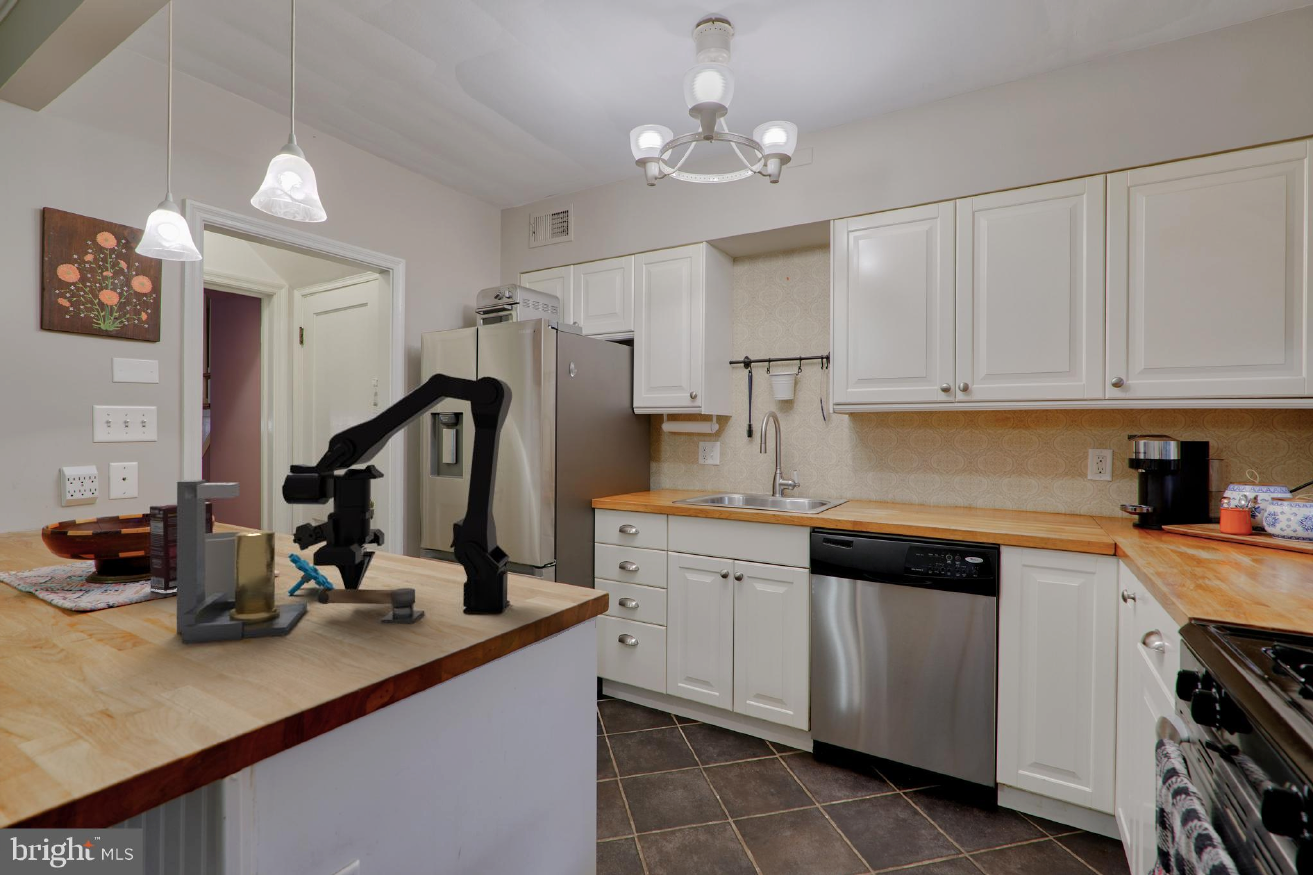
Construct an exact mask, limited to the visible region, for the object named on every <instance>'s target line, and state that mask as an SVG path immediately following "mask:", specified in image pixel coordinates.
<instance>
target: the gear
mask: <svg viewBox="0 0 1313 875" xmlns="http://www.w3.org/2000/svg"><path fill="white" fill-rule="evenodd" d="M287 557H288V559H289V562H291V563H292V564H294V567H295V568H296V569H297V570H298V571H300V572H302V573H303V575H301V576H300V580H298V582H296V583H295V585H293V587H291V588H290V589H289V590H288V591H287V593H288V594H289V595H290V596H294V594H295V593H296V592H298V591H299V590H300V589H301V588H302V587H303V586H304V585H305V584H309V583H310V582H311V581H312V580H313V581H314V584H315V585H317V586H318V587H319V588H321V587H322V589H323V588H331V589H336V588H335V587H334V584H333V583H332V582H331V581H329V580H328V577H326V576H325V575H324V574H322V573H321V572H320V571H319V569H318V568H317V566H314V565H312V566H311V565H310V563H309V561H307V560H306V559H305V558H304V559H302V557H301V556H299V555H298V554H296V553H294V552H293V553H292V552H291V553H290V554H289V555H288V556H287Z"/></svg>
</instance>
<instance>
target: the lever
mask: <svg viewBox="0 0 1313 875" xmlns="http://www.w3.org/2000/svg"><path fill="white" fill-rule="evenodd" d="M316 598H317V601H318V603H320V604H322V605H329V604H357V605H358V604H359V605H360V604H363V605H365V604H366V605H369V604H370V605H371V604H372V605H374V604H375V605H391V606H398V607H401V606H409V605H412V604H414V605H415V603H416V589H414V588H412V587H411V588H410V587H404V588H403V587H402V588H396V589H360V588H359V589H345V588H344V589H343V588H335V589H331V588H323V587H322V588H321V589H320V590H319V591H318V592H317V595H316Z"/></svg>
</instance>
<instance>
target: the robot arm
mask: <svg viewBox="0 0 1313 875" xmlns="http://www.w3.org/2000/svg"><path fill="white" fill-rule="evenodd" d="M448 398H449V399H455V400H460V401H461V400H462V401H466V402H469V403H470V412H471V418H472V421H473V426H474V437H473V448H472V457H471V466H470V467H471V468H470V474H469V475H470V477H469V485H468V486H469V487H468V497H467V507H466V512H465V515H464V518H462V519H459V520H457V521H454V523H453V524H452V535H453V536H452V542H451V544H450V546H449V548H450V549H452V548H453V556H454V559H455V560H456V561H457V562H458V563H459V564H460V565H461V566H462V567H463V570H464V573H465V575H466V576H465V577H466V581H465V582H464V583H463V589H462V592H463V595H462V596H463V599H462V600H463V603H462V604H463V606H462V607H463V608H464V609H463V610H462V613H464V614H488V615H489V614H491V615H493V614H496V615H499V614H502V613H503V612H504V611H505V610H506V609H507V607H508V606H509V605H510V604H511V600H509V599H508V576H509V574H508V572H509V571H508V570H504V569H505V568H507V565H508V563H509V561H510V555H509V554H508V553H507V552H506V551H504V550H503V548H501V547H500V545H499V544H498V538H497V525H496V522H495V518H494V513H493V512H494V511H493V508H494V499H495V497H494V496H495V488H496V480H497V478H496V477H497V470H498V461H499V460H498V459H499V451H500V439H501V432H502V429H503V427H504V424H505V422H506V419H507V417H508V415H509V411H510V407H511V403H512V399H513V391H512V389H511V387H510V386H509V385H508V383H507V382H506V381H503V380H501V379H499V378H496V377H492V376H482V377H480V378H478V379H477V380H474V379H469V378H462V377H458V376H457V377H456V376H451V375H448V374H443V373H440V372H438V373H434V374H431V376H429V378H427V380H426V381H425V382H424V383H421V384H420V385H418V387H416V388H414V389H413V390H411V391H410V392H409V393H407V394H406V395H404V396H403V397H402V398H400V399H399V400H397V401H396V402H394V403H393V404H391V405H390V406H389V407H387V408H386V409H385V410H383V411H381V412H380V413H378V414H377V415H375V416H374V417H373V418H371V419H368V420H365V421H364V422H360V423H358V424H355V425H353V426H351V427H348V428H346V429H343V430H342V431H339V432H337V433H336V434H334V435H333V436H332V437H330V439H329V441H328V446H327V451H326V452H325V453H324V454H323V455H322V457H321V458H320V459H319V460H318V462H317V463H316V465H309V464H308V465H307V464H301V463H299V464H297V463H296V464H295V463H294V464H290V465H289V472H288V473H287V474H286V476H285V479H284V481H283V484H282V485H281V492H282V493H281V494H282V497H283V500H284V502H286V504H288V505H317V506H318V505H319V506H322V505H327V504H328V503H329V501H330V500H331V499H333V502H332V503H333V506H332V507H333V508H332V509H333V511H332V512H330V513H329V514H328V515H327V517H326V518H327V519H326V520H327V521H323V522H321V523H317V524H315V525H313V524H312V523H311V522H307V523H304V524H301V525H298V526H296V527H295V532H294V533H292V535H293V539H292V543H294V544H297V545H298V547H299V550H300V551H305V550H307V549H309V547H310V548H311V547H313V546H315V545H319V544H322V543H324V542H326V543H325V544H324V545H322V546H320V547H319V548H318V549H317V550H315V551H314V552H313V554H312V555H313V556H312V557H313V558H312V560H313V562H312V563H313V565H314V566H315V567H332V566H333V567H336V568H337V569H338V572H339V574H340V576H341V580H342V583H343V587H344V589H360V587H361V584H362V582H363V580H364V577H365V575H366V573H367V571H368V569H369V567H370V565H371V563H372V560H373V558H374V556H375V555H376V551H374V550H371V551H370V550H369V551H368V547H365V546H366V545H372V544H374V545H375V544H376V546H377V547H382V546H383V545H384V544H385V533H384V532H383V531H382V529H380V528H371V522H372V521H371V518H372V517H373V516H374V515H375V508H371V506H372V505H371V504H372V503H371V502H372V496H371V495H372V480H377V479H382V478H384V476H385V474H384V473H383V472H382V471H380V470H379V469H378V468H377V467H376V465H375V464H368V465H366V466H365V468H352V467H353V466H357V465H364V464H367V463H368V462H371V461H372V460H373V459H374V458H375V457H376V456H377V455H378V454H379V453H380V452H381V451H382V450H383V449H384V448H385V447H386V445H387V443H388V442H389V440H391V439H392V438H393V437H394V436H395V435H396V434H397V433H399V432H400V431H401V430H403V429H404V428H406V427H407V426H409V425H410V424H411V423H413V422H414V421H416V420H417V419H419V418H420V417H422V416H424V414H426V413H427V412H429V411H431V410H432V409H433V408H434V407H436V406H437V405H439V404H440V403H442V402H443V401H445V400H446V399H448ZM342 470H345V471H344V473H342V474H340V473H339V474H335V472H336V471H342ZM313 565H312V566H313Z"/></svg>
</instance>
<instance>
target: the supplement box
mask: <svg viewBox="0 0 1313 875" xmlns="http://www.w3.org/2000/svg"><path fill="white" fill-rule="evenodd" d="M213 518H214V517H213V502H210V501H206V508H205V534H209V533H214V530H213V524H214V523H213V522H214V521H213ZM149 551H150V553H149V554H150V555H149V559H150V567H149V568H150V570H149V571H150V572H149V573H150V578H149V579H150V582H149V583H150V590H151V589H155V590H156V589H157V590H164V591H167V590H174V589H176V588H177V503H171V504H161V505H151V506H149Z"/></svg>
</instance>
